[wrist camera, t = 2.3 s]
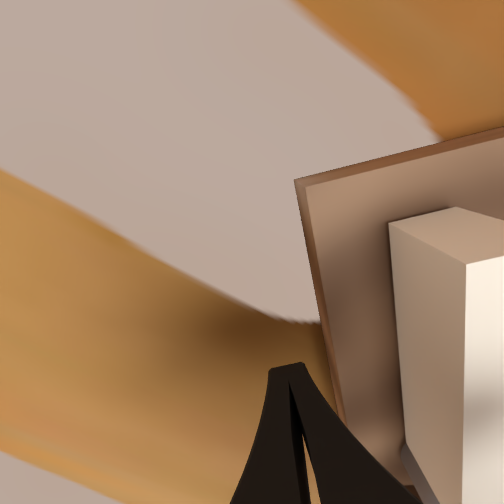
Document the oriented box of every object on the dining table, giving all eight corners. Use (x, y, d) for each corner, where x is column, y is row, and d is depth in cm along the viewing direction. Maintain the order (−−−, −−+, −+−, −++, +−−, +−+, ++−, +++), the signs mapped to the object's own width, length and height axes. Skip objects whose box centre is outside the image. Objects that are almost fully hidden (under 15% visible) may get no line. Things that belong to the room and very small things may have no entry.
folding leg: (461, 464, 16) (530, 565, 12) (402, 475, 16) (452, 579, 12) (465, 204, 11) (587, 236, 7) (379, 225, 11) (451, 267, 7)
